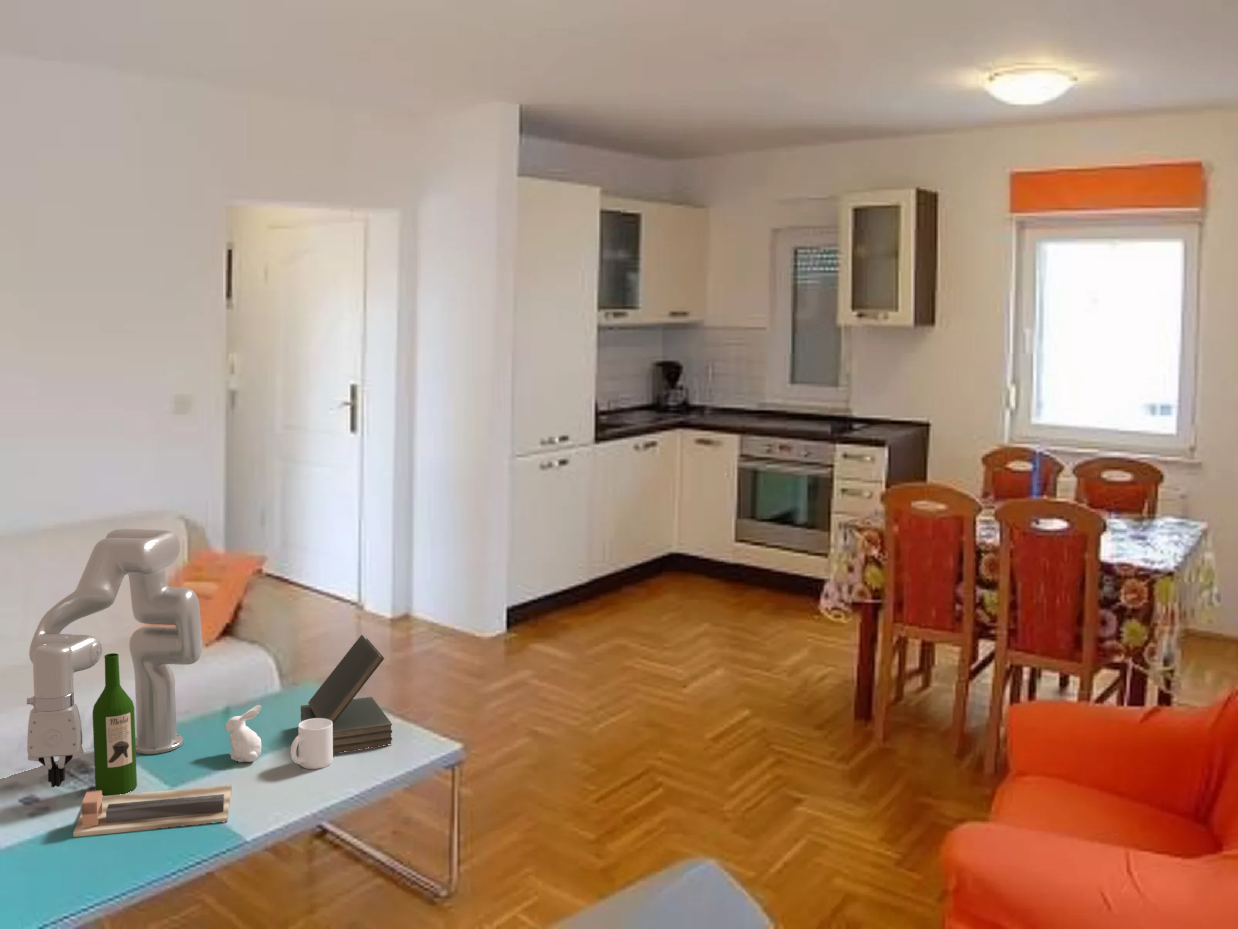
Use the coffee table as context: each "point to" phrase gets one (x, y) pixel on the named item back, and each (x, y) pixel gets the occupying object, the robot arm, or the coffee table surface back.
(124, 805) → the bar
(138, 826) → the board
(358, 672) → the stack of books
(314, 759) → the mug
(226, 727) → the rabbit
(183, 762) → the coffee table surface
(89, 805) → the brown arch block
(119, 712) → the wine bottle
